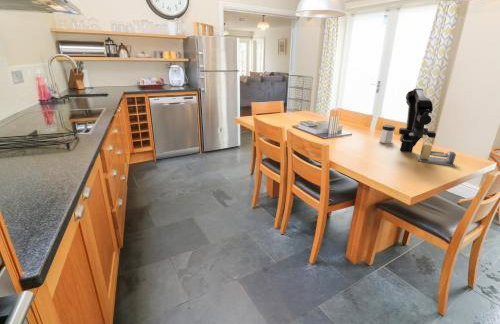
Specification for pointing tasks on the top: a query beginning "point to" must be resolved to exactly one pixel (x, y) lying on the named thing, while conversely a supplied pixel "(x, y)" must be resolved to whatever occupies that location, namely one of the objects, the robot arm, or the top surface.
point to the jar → (387, 133)
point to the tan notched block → (426, 150)
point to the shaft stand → (440, 161)
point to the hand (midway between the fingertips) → (413, 146)
